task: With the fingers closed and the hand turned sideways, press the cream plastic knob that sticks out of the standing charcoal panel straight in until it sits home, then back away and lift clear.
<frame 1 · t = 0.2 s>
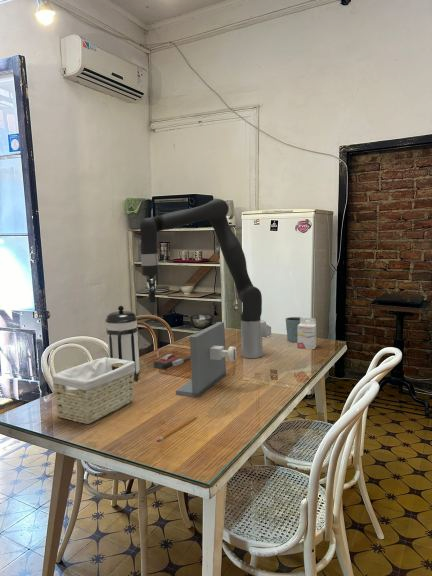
hand: (152, 300, 189), 29 cm above the table, tool pointing down, fingers open, 8 cm apart
pencil: (179, 430, 128), on the table
knob: (227, 353, 159), point 13 cm above the table, slide at 3.0 cm
knob panel: (210, 384, 164), on the table
grey-green cup: (295, 341, 227), on the table
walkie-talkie: (173, 364, 194), on the table
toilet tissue: (260, 337, 238), on the table
ink cartridge box: (306, 348, 212), on the table
storage basket: (98, 410, 145), on the table
coffee press: (125, 378, 175), on the table
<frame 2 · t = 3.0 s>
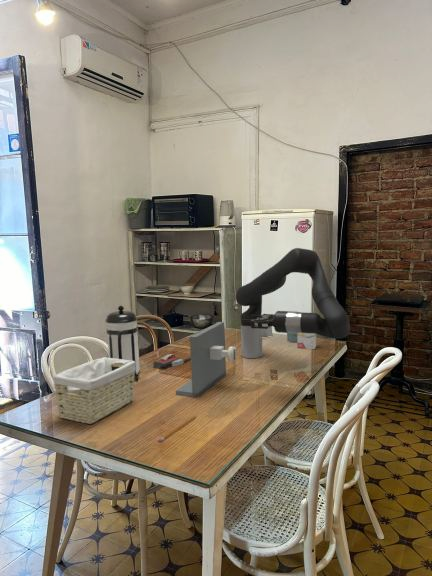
hand: (245, 320, 155), 26 cm above the table, tool horizontal, fingers open, 8 cm apart
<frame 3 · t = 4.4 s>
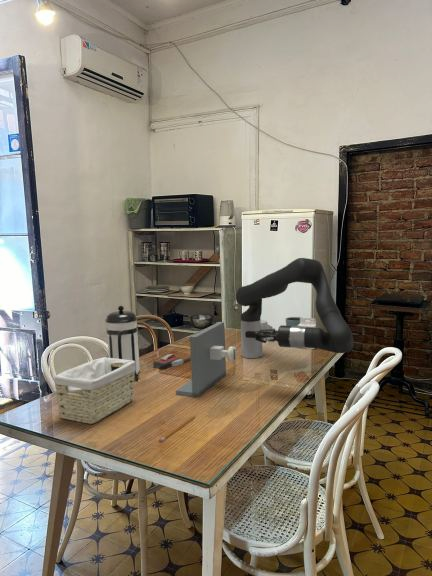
hand: (246, 334, 155), 21 cm above the table, tool horizontal, fingers closed
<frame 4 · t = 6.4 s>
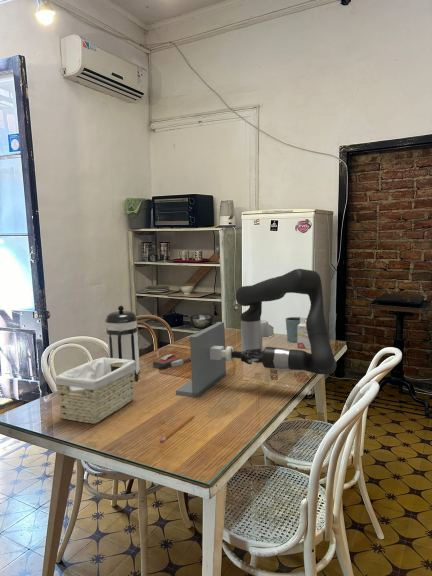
hand: (232, 354, 159), 13 cm above the table, tool horizontal, fingers closed
knob: (224, 353, 160), point 13 cm above the table, slide at 2.0 cm, touching gripper
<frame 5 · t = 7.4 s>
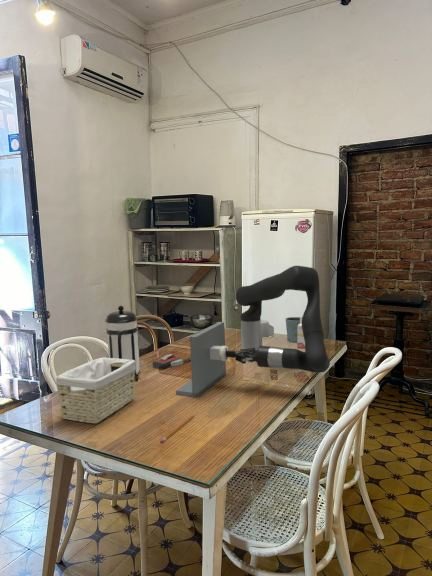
hand: (226, 353, 160), 13 cm above the table, tool horizontal, fingers closed
knob: (219, 352, 161), point 13 cm above the table, slide at -0.2 cm, touching gripper
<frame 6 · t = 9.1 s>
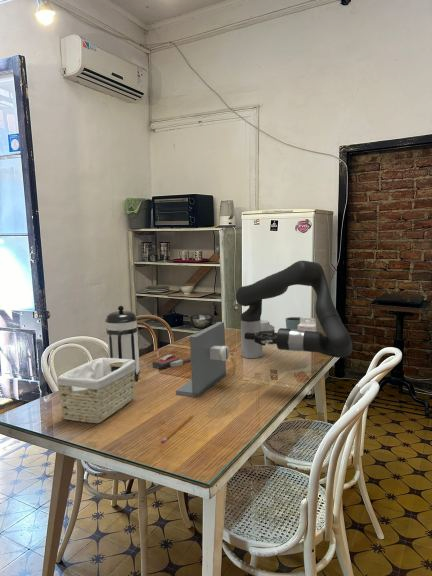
hand: (245, 335, 156), 20 cm above the table, tool horizontal, fingers closed
knob: (219, 352, 161), point 13 cm above the table, slide at -0.1 cm
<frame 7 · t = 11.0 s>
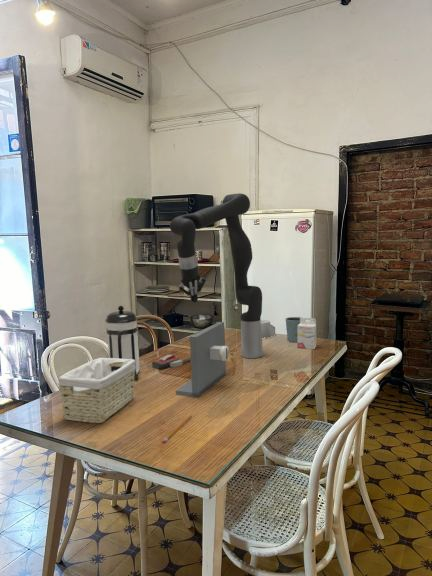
hand: (194, 301, 184), 29 cm above the table, tool tilted 20°, fingers closed
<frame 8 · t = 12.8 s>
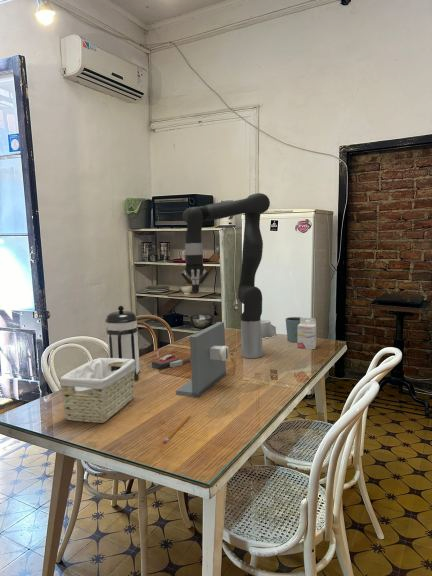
hand: (195, 292, 188), 32 cm above the table, tool pointing down, fingers closed
at the end: knob slide at -0.1 cm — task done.
